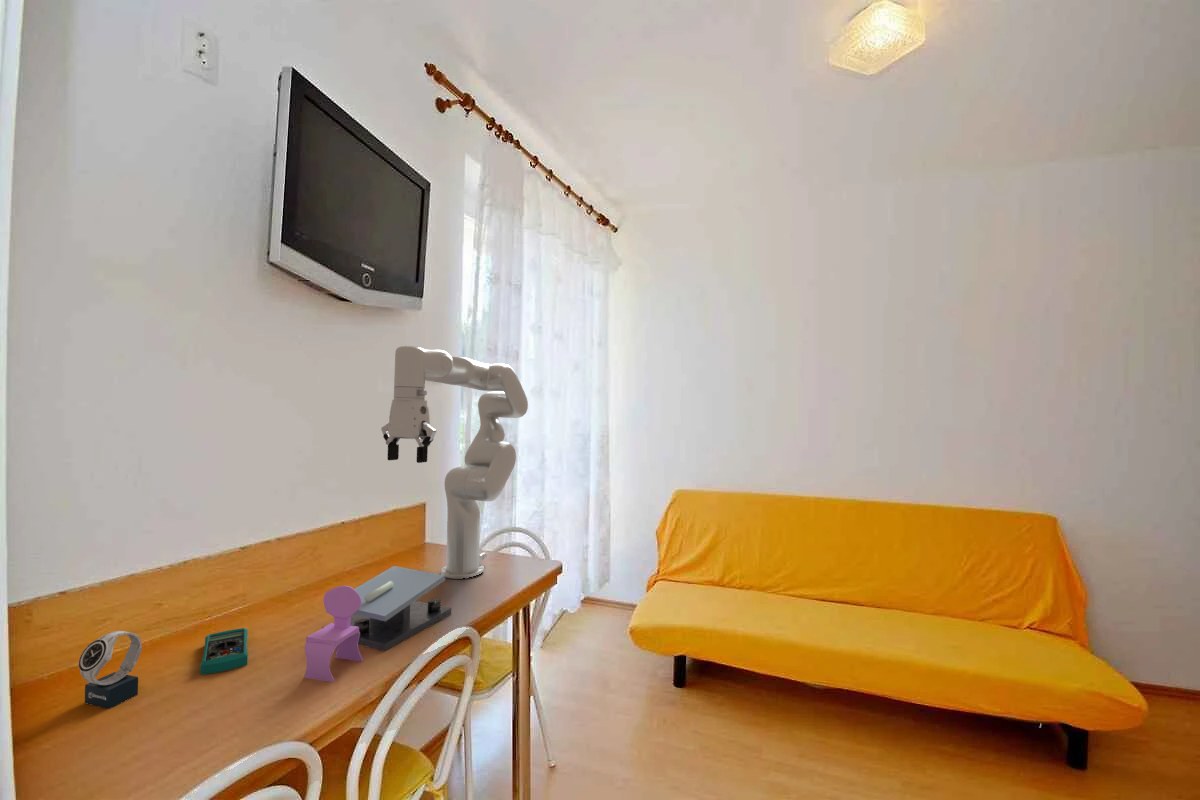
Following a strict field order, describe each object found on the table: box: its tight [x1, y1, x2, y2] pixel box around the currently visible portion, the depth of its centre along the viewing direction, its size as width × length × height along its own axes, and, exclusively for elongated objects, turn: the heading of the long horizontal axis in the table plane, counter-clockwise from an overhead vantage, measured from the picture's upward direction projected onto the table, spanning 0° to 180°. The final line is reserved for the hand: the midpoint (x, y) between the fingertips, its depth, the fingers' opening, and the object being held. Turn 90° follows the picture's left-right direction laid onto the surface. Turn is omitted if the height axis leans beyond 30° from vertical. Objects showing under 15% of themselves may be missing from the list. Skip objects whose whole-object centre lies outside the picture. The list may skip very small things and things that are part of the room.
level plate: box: [354, 565, 446, 621], centre depth 121 cm, size 19×16×3 cm
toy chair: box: [304, 585, 365, 683], centre depth 101 cm, size 8×9×15 cm
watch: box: [78, 630, 143, 710], centre depth 89 cm, size 6×8×11 cm
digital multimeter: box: [199, 627, 249, 676], centre depth 105 cm, size 7×15×3 cm, turn 34°
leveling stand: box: [321, 598, 452, 652], centre depth 121 cm, size 21×18×6 cm
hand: (407, 461), depth 136 cm, fingers open, 9 cm apart
